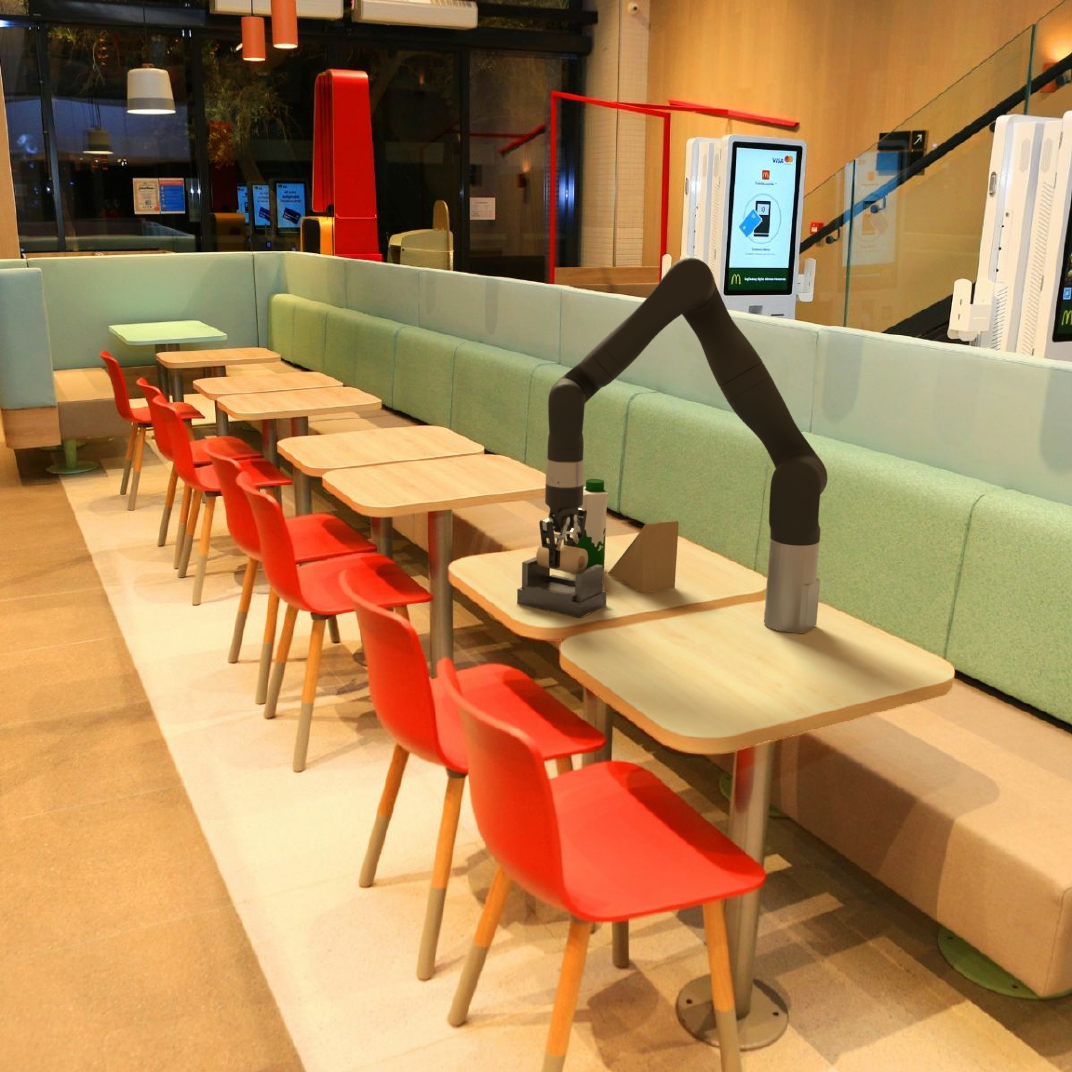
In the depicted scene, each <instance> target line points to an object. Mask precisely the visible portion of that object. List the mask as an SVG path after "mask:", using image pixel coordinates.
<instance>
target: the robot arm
mask: <svg viewBox="0 0 1072 1072" xmlns="http://www.w3.org/2000/svg"><path fill="white" fill-rule="evenodd" d="M680 316H683V318H684V320H686V323H688V325H689V327H690V328H691V330H692V331H693V332H694V333H695V336H696V337H697V340H698V341H699V343H700V346H701V348H702V351H703V353H704V355H705V359H706V360H707V364H708V366H709V368H710V372H711V373H712V376H713V378H714V379H715V381H716V384H717V385H718V387H719V389H720V391H721V393H722V394H723V396H724V398H725V400H726V401H727V403H728V404H729V406H730V407H731V409H732V410H733V411H734V413H735V414H736V416H738V418H739V419H740V420H741V422H743V424H745V425H746V426H747V428H749V429H750V430H751V432H753V434H754V435H755V436H756V437H757V438H758V439H759V441H761V443H762V445H763V446H764V448H765V449H766V451H767V453H768V456H769V457H770V459H771V462H772V463H773V466H774V468H775V469H774V471H773V474H772V476H771V480H770V481H771V482H770V488H769V504H768V507H769V508H768V511H769V512H768V524H769V528H770V529H769V531H770V532H769V547H768V548H769V550H768V559H767V561H768V563H767V574H766V575H767V576H766V577H767V578H766V587H765V603H764V613H763V614H764V619H763V623H765V624H766V625H765V624H764V625H765V627H767V626H768V627H767V628H769V629H771V628H772V630H774V629H777V630H776V631H778V630H780V631H779V632H783V631H786V632H785V633H799V632H801V633H800V634H806V633H808V632H809V631H810V630H812V629H813V628H814V626H815V625H816V626H817V620H818V609H819V599H820V598H819V596H820V589H821V588H820V586H821V579H820V578H819V577H817V576H818V565H819V564H818V563H819V553H820V541H821V526H820V525H819V523H820V522H819V517H820V516H819V515H820V503H821V501H820V500H821V495H822V493H823V492H824V490H825V489H826V487H827V484H828V472H827V468H826V466H825V464H824V462H823V461H822V459H820V457H819V455H818V454H817V453H816V451H815V450H814V448H813V447H812V446H811V444H810V443H809V442H808V440H807V439H806V437H805V436H804V434H803V433H802V432H801V430H800V428H799V427H798V425H797V424H796V422H795V420H794V418H793V417H792V415H791V412H790V410H789V408H788V406H787V404H786V402H785V400H784V398H783V396H782V395H781V393H780V391H779V389H778V387H777V386H776V383H775V381H774V379H773V378H772V375H771V374H770V372H769V370H768V369H767V367H766V365H765V363H764V361H763V360H762V358H761V357H760V355H759V354H758V352H757V350H756V349H755V347H754V346H753V345H752V343H751V342H750V341H749V339H748V338H747V337H746V336H745V334H744V333H743V332H742V331H741V329H740V328H739V327H738V326H737V324H736V323H735V322H734V320H733V319H732V316H731V315H730V313H729V311H728V309H727V307H726V305H725V302H724V300H723V298H722V295H721V294H720V292H719V288H718V286H717V284H716V280H715V277H714V274H713V272H712V269H711V268H710V267H709V265H708V264H707V263H705V261H702V260H701V259H699V258H695V257H685V258H682V259H679V260H678V261H675V262H674V263H673V264H672V265H671V266H670V267H669V268H668V271H666V273H665V275H664V276H663V277H662V278H661V280H660V281H659V282H658V284H657V285H656V286H655V287H654V288H653V289H652V291H651V292H650V294H649V295H648V296H647V297H646V298H645V299H644V300H643V302H641V303H640V305H639V306H638V307H637V308H636V309H634V311H633V312H632V313H631V314H630V315H629V316H628V317H627V318H626V319H624V320H623V321H622V322H621V323H619V325H618V326H617V327H616V328H614V329H613V330H612V331H611V332H610V333H609V334H608V335H606V336H605V337H604V338H603V339H602V340H601V341H600V342H599V343H598V344H597V345H596V346H594V348H593V349H591V351H590V352H588V353H587V354H586V355H585V356H584V358H583V359H582V360H581V361H580V362H579V363H578V364H577V365H575V366H574V367H572V368H571V369H570V370H569V371H567V372H566V373H565V374H563V376H561V378H559V379H558V380H557V381H556V382H555V383H554V384H553V385H552V387H551V388H550V390H549V394H548V400H547V401H548V403H547V408H548V409H547V411H548V415H547V416H548V430H549V431H548V436H547V437H548V439H547V460H546V466H545V468H546V469H545V490H544V492H545V494H544V495H545V496H544V499H545V500H544V503H545V505H546V506H548V508H549V513H548V518H546V519H540V520H539V531H540V532H539V533H540V540H541V541H540V542H541V543H542V547H544V548H548V549H549V566H550V567H551V568H559V567H560V547H561V544H562V542H563V540H564V538H565V540H566V542H567V543H565V545H567V546H572V547H576V544H577V543H578V541H579V539H582V538H583V536H584V529H585V522H586V516H587V510H584V509H578V507H580V506H582V504H583V489H584V487H585V484H584V483H585V482H584V481H585V480H584V479H585V467H584V466H585V465H584V445H585V444H584V433H583V430H584V419H585V418H584V417H585V407H586V406H585V405H586V403H587V402H588V401H590V399H591V398H592V397H593V396H595V395H596V394H597V393H598V392H599V391H600V390H601V389H602V388H604V387H607V386H608V385H609V384H611V383H612V382H613V381H614V380H615V379H617V378H618V376H620V375H621V374H622V373H623V372H625V370H627V369H628V367H629V366H630V365H631V364H632V363H633V362H635V360H636V359H637V358H638V357H640V355H641V354H642V353H643V351H644V350H645V349H647V347H648V346H649V344H650V343H651V342H652V341H653V340H654V339H655V338H656V337H657V335H658V334H659V333H661V332H662V331H663V330H664V329H665V328H666V327H667V326H668V325H669V324H671V323H672V322H673V321H674V320H676V319H677V318H679V317H680ZM578 526H579V527H580V529H578ZM555 543H556V544H555ZM816 626H815V627H816ZM812 627H813V628H812ZM811 628H812V629H811ZM809 629H810V630H809ZM808 630H809V631H808ZM807 631H808V632H807Z"/></svg>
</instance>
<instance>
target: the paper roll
mask: <svg viewBox="0 0 1072 1072" xmlns="http://www.w3.org/2000/svg"><path fill="white" fill-rule="evenodd" d="M555 544H556V542H555ZM535 557H536V559H537V563H538V565H539V566H541V567H546V568H550V570H555V571H560V572H564V573H565V572H566V573H570V574H572V575H573V574H574V575H576V573H578V572H581V571H583V570H585V569H586V567H587V563H588V554H587V551H586V550H585V549H581V548H576V547H572V546H567V545H563V544H562V543H561V547H560V567H559V568H551V567H550V566H549V549H548V548H544V547H542V542H541V543H540V544H539V546H538V547H537V550H536V556H535Z"/></svg>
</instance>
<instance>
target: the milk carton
mask: <svg viewBox="0 0 1072 1072" xmlns="http://www.w3.org/2000/svg"><path fill="white" fill-rule="evenodd" d="M609 495H610V493H608V492H607V491H606V489H605V480H602V479H599V478H598V479H596V478H591V479H589V478H588V479H586V480H585V486H584V489H583V504H582V506H580V507H578V509H584V510H587V516H586V522H585V529H584V536H583V538H582V539H579V541H578V543H577V544H576V548H581V549H585V550H586V551H587V554H588V563H587V567H586V569H588V568H590V567H592V566H595V565H597V564H598V565H602V566H603V573H604V572H605V559H606V558H605V557H606V534H607V533H606V530H607V508H608V507H607V506H608V500H609ZM578 529H580V527H579V526H578ZM562 542H563V544H562V545H565V543H567V542H566V540H565V538H564V539H563V540H562Z"/></svg>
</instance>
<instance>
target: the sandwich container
mask: <svg viewBox="0 0 1072 1072" xmlns="http://www.w3.org/2000/svg"><path fill="white" fill-rule="evenodd" d="M679 524H680V522H679V521H678V520H673V521H672V520H670V521H660V522H655V523H649V524H644V525H643V527H642V528H641V530H640V531H639V533H638V534H637V535H636V536H635V537H634V539H633V541H632V542H631V543H630V544H629V546H628V547H627V548H626V550H625V551H624V552H623V554H622V555H621V556H620V557H619V558H618V560H616V563H614V564H613V566H612V567H611V569H610V570H609V571H608V572H607V575H609V576H611V577H612V578H614V579H616V580H618V581H620V582H621V583H624V584H625V585H626V586H628V587H630V588H632V589H634V590H636V591H638V592H640V593H641V594H644V593H652V592H657V591H664V590H665V591H666V590H673V589H675V588H676V587H675V586H676V576H677V575H676V573H677V571H676V570H677V559H678V558H677V555H678V541H679Z"/></svg>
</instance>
